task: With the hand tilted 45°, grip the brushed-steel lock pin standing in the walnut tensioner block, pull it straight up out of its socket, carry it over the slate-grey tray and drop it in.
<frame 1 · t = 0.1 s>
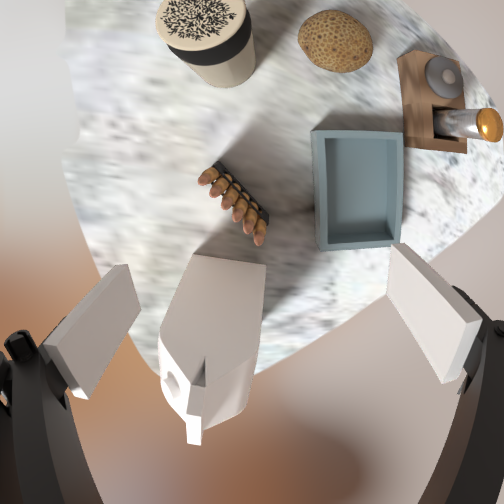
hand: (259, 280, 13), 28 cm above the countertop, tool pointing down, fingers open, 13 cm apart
travel mug: (226, 63, 33), on the countertop
milk: (225, 292, 46), on the countertop
lock pin: (425, 123, 34), resting in tensioner block
tray: (354, 186, 39), on the countertop
ammunition clip: (239, 192, 40), on the countertop
natural sponge: (326, 52, 31), on the countertop
tensioner block: (423, 104, 33), on the countertop
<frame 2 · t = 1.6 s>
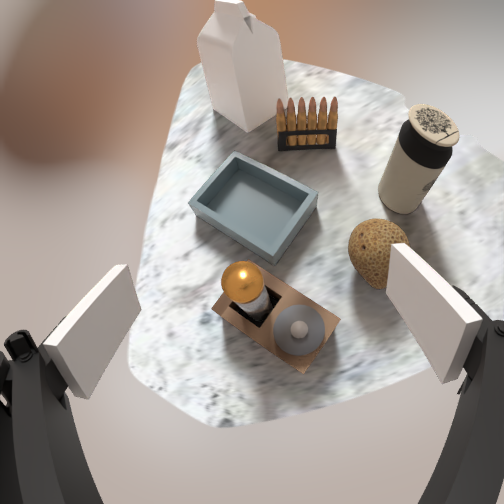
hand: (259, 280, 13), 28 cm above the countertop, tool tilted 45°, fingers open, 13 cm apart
travel mug: (398, 195, 44), on the countertop
milk: (250, 107, 56), on the countertop
lock pin: (260, 309, 41), resting in tensioner block
tray: (255, 210, 46), on the countertop
ammunition clip: (306, 146, 50), on the countertop
natural sponge: (370, 262, 41), on the countertop
tensioner block: (277, 320, 40), on the countertop
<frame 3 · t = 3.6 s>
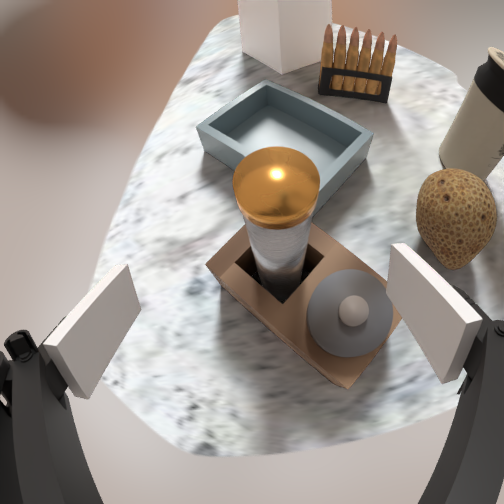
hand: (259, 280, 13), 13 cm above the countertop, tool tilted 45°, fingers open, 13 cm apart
travel mug: (460, 165, 30), on the countertop
milk: (286, 53, 42), on the countertop
lock pin: (280, 281, 27), resting in tensioner block
tray: (284, 151, 33), on the countertop
ammunition clip: (352, 95, 36), on the countertop
natural sponge: (434, 237, 27), on the countertop
tensioner block: (304, 302, 26), on the countertop
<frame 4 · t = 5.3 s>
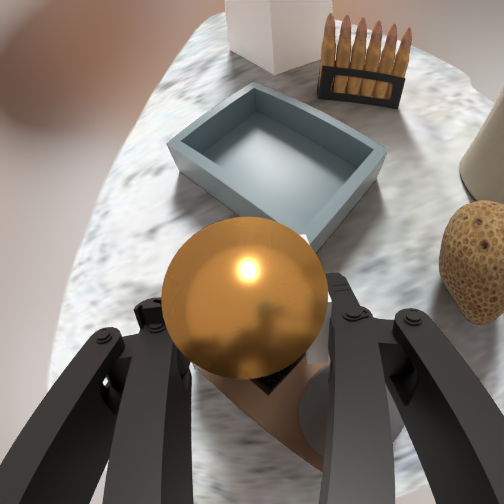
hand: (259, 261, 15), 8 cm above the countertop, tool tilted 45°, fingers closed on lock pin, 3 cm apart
travel mug: (482, 184, 25), on the countertop
milk: (280, 51, 37), on the countertop
lock pin: (269, 344, 21), resting in tensioner block, touching gripper
tray: (276, 171, 27), on the countertop
ammunition clip: (358, 100, 31), on the countertop
natural sponge: (455, 278, 21), on the countertop
tensioner block: (299, 369, 20), on the countertop
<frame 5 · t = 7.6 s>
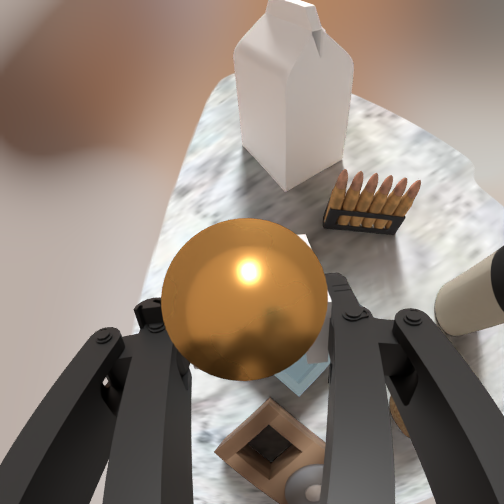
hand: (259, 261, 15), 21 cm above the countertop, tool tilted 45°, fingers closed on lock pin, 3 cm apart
travel mug: (454, 309, 32), on the countertop
milk: (291, 151, 44), on the countertop
lock pin: (269, 344, 21), point 13 cm above the countertop, touching gripper
tray: (282, 314, 35), on the countertop
ammunition clip: (359, 226, 38), on the countertop
tensioner block: (288, 453, 28), on the countertop
when the fingers open (11 cm above the countertop, at t = 10.1 s): lock pin drops 2 cm, resting on tray.
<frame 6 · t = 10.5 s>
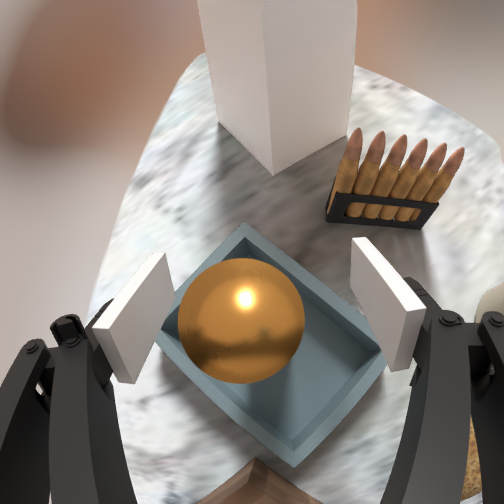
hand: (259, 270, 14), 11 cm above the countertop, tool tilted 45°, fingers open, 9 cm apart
travel mug: (496, 324, 21), on the countertop
milk: (281, 126, 34), on the countertop
lock pin: (269, 346, 23), point 1 cm above the countertop, touching tray
tray: (270, 346, 24), on the countertop
ammunition clip: (375, 218, 28), on the countertop
natural sponge: (438, 442, 18), on the countertop
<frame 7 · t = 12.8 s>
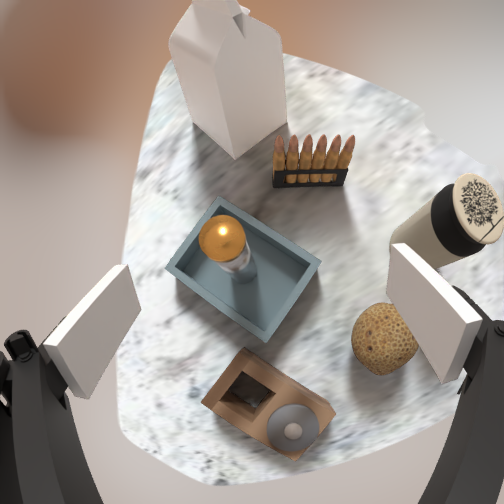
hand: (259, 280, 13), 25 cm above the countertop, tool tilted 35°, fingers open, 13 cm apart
travel mug: (411, 250, 38), on the countertop
milk: (238, 121, 46), on the countertop
lock pin: (243, 270, 39), point 1 cm above the countertop, touching tray
tray: (244, 271, 40), on the countertop
ammunition clip: (307, 181, 42), on the countertop
natural sponge: (372, 335, 36), on the countertop
tensioner block: (269, 398, 35), on the countertop
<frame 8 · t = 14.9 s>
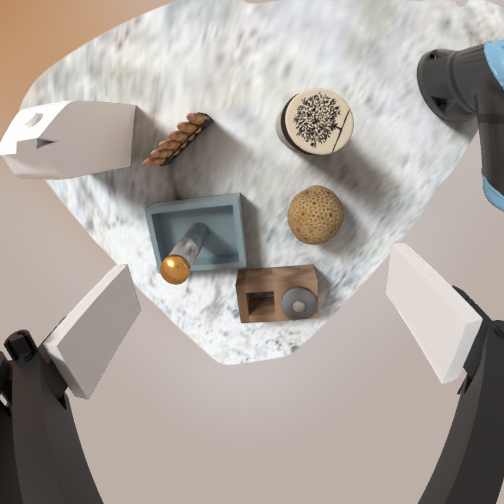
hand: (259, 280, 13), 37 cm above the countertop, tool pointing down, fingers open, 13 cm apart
travel mug: (299, 127, 44), on the countertop
milk: (105, 135, 45), on the countertop
lock pin: (199, 231, 51), point 1 cm above the countertop, touching tray
tray: (200, 230, 51), on the countertop
ammunition clip: (187, 139, 45), on the countertop
natural sponge: (310, 206, 49), on the countertop
tensioner block: (276, 285, 55), on the countertop
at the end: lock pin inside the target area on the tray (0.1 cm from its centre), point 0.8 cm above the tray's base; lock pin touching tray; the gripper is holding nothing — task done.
